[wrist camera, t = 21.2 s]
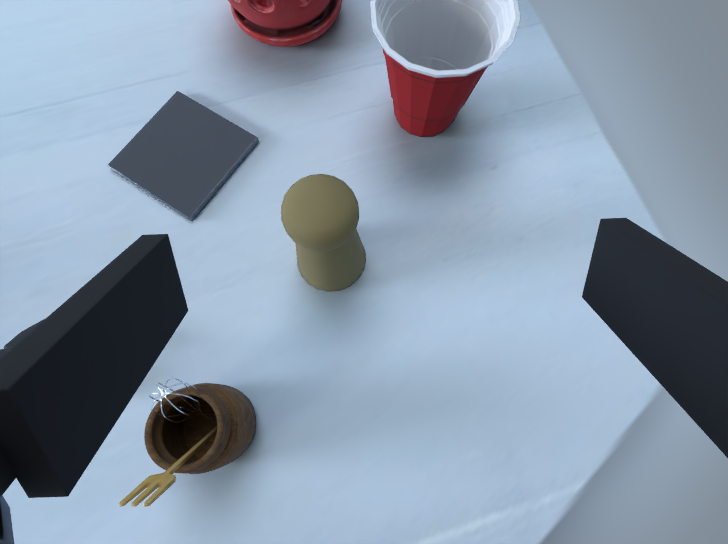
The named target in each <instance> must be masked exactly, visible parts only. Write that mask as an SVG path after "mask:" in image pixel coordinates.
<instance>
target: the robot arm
mask: <svg viewBox="0 0 728 544" xmlns="http://www.w3.org/2000/svg"><path fill="white" fill-rule="evenodd" d="M582 298H583V299H584V300H585V301H586V302H587V303H588V304H589V305H590V306H591V308H592V309H593V310H594V311H595V312H596V313H597V314H598V315H599V316H600V317H601V319H602V320H603V321H604V322H605V323H606V324H607V325H608V326H609V327H610V329H611V330H612V331H613V332H614V333H615V334H616V335H617V336H618V337H619V338H620V340H621V341H622V342H623V343H624V344H625V345H626V346H627V347H628V348H629V350H630V351H631V352H632V353H633V354H634V355H635V356H636V357H637V358H638V359H639V361H640V362H641V363H642V364H643V365H644V366H645V367H646V368H647V369H648V371H649V372H650V373H651V374H652V375H653V376H654V377H655V378H656V379H657V380H658V382H659V383H660V384H661V385H662V386H663V387H664V388H665V389H666V390H667V391H668V393H669V394H670V395H671V396H672V397H673V398H674V399H675V400H676V401H677V402H678V404H679V405H680V406H681V407H682V408H683V409H684V410H685V411H686V412H687V414H688V415H689V416H690V417H691V418H692V419H693V420H694V421H695V422H696V423H697V425H698V426H699V427H700V428H701V429H702V430H703V431H704V432H705V433H706V435H707V436H708V437H709V438H710V439H711V440H712V441H713V442H714V443H715V444H716V446H717V447H718V448H719V449H720V450H721V451H722V452H723V453H724V454H725V456H726V457H727V458H728V282H727V281H725V280H724V279H722V278H721V277H719V276H718V275H716V274H714V273H713V272H711V271H710V270H708V269H707V268H705V267H703V266H701V265H700V264H698V263H697V262H695V261H694V260H692V259H691V258H689V257H687V256H686V255H684V254H683V253H681V252H679V251H678V250H676V249H675V248H673V247H672V246H670V245H668V244H667V243H665V242H664V241H662V240H660V239H659V238H657V237H656V236H654V235H652V234H651V233H649V232H648V231H646V230H644V229H643V228H641V227H640V226H638V225H637V224H635V223H633V222H632V221H630V220H629V219H627V218H612V219H601V220H600V224H599V229H598V233H597V237H596V241H595V245H594V249H593V253H592V257H591V262H590V266H589V270H588V274H587V278H586V282H585V286H584V291H583V295H582ZM187 312H188V308H187V304H186V300H185V297H184V293H183V289H182V285H181V282H180V278H179V274H178V270H177V267H176V263H175V259H174V256H173V252H172V248H171V244H170V241H169V237H168V234H157V235H142V236H141V237H140V238H139V239H137V240H136V241H135V242H134V243H133V244H132V245H130V246H129V247H128V248H127V249H126V250H125V251H124V252H122V253H121V254H120V255H119V256H118V257H117V258H115V259H114V260H113V261H112V262H111V263H110V264H108V265H107V266H106V267H105V268H104V269H103V270H102V271H100V272H99V273H98V274H97V275H96V276H95V277H93V278H92V279H91V280H90V281H89V282H88V283H87V284H85V285H84V286H83V287H82V288H81V289H80V290H78V291H77V292H76V293H75V294H74V295H73V296H71V297H70V298H69V299H68V300H67V301H66V302H65V303H63V304H62V305H61V306H60V307H59V308H58V309H56V310H55V311H54V312H53V313H52V314H51V315H50V316H48V317H47V318H46V319H44V320H42V321H40V322H38V323H37V324H35V325H33V326H31V327H29V328H27V329H26V330H24V331H22V332H21V333H19V334H18V335H17V336H16V337H15V338H13V339H12V340H11V341H10V342H9V343H8V344H6V345H5V346H4V349H0V544H14V538H13V530H12V522H11V514H10V507H9V506H8V504H7V502H6V500H5V499H4V497H3V496H2V495H3V493H4V492H5V491H6V490H7V488H8V487H9V486H10V485H11V483H12V482H13V481H14V480H15V478H17V480H18V481H19V483H20V484H21V486H22V488H23V489H24V491H25V492H26V494H27V496H28V497H29V498H35V497H65V496H69V494H70V493H71V491H72V489H73V488H74V486H75V485H76V483H77V482H78V480H79V479H80V477H81V476H82V474H83V472H84V471H85V469H86V468H87V466H88V465H89V463H90V462H91V460H92V459H93V457H94V455H95V454H96V452H97V451H98V449H99V448H100V446H101V445H102V443H103V442H104V440H105V438H106V437H107V435H108V434H109V432H110V431H111V429H112V428H113V426H114V425H115V423H116V421H117V420H118V418H119V417H120V415H121V414H122V412H123V411H124V409H125V408H126V406H127V404H128V403H129V401H130V400H131V398H132V397H133V395H134V394H135V392H136V391H137V389H138V387H139V386H140V384H141V383H142V381H143V380H144V378H145V377H146V375H147V374H148V372H149V370H150V369H151V367H152V366H153V364H154V363H155V361H156V360H157V358H158V357H159V355H160V354H161V352H162V350H163V349H164V347H165V346H166V344H167V343H168V341H169V340H170V338H171V337H172V335H173V333H174V332H175V330H176V329H177V327H178V326H179V324H180V323H181V321H182V320H183V318H184V316H185V315H186V313H187Z"/></svg>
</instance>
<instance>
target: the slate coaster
mask: <svg viewBox="0 0 728 544" xmlns="http://www.w3.org/2000/svg"><path fill="white" fill-rule="evenodd" d="M258 142H259V140H258V138H257V137H255V136H254V135H252V134H250V133H249V132H247V131H245V130H243V129H242V128H240V127H238V126H237V125H235V124H233V123H232V122H230V121H228V120H226V119H225V118H223V117H221V116H220V115H218V114H216V113H214V112H213V111H211V110H209V109H208V108H206V107H204V106H203V105H201V104H199V103H197V102H196V101H194V100H192V99H191V98H189V97H187V96H185V95H184V94H182V93H180V92H179V91H177V92H176V93H175V94H174V95H173V96H172V97H171V98H170V99H169V100H168V102H167V103H166V104H165V105H164V106H163V107H162V108H161V109H160V110H159V111H158V112H157V113H156V114H155V115H154V116H153V117H152V119H151V120H150V121H149V122H148V123H147V124H146V125H145V126H144V127H143V128H142V129H141V130H140V131H139V132H138V133H137V134H136V136H135V137H134V138H133V139H132V140H131V141H130V142H129V143H128V144H127V145H126V146H125V147H124V148H123V149H122V150H121V151H120V153H119V154H118V155H117V156H116V157H115V158H114V159H113V160H112V161H111V162H110V163H109V164H108V166H109V167H110V168H111V169H113V170H114V171H116V172H117V173H119V174H120V175H122V176H123V177H125V178H127V179H128V180H130V181H131V182H133V183H134V184H136V185H137V186H139V187H140V188H142V189H143V190H145V191H147V192H148V193H150V194H151V195H153V196H154V197H156V198H157V199H159V200H160V201H162V202H164V203H165V204H167V205H168V206H170V207H171V208H173V209H174V210H176V211H177V212H179V213H181V214H182V215H184V216H185V217H187V218H188V219H190V220H191V221H193V220H194V218H195V217H196V216H197V215H198V214H199V212H200V211H201V210H202V209H203V208H204V206H205V205H206V204H207V203H208V202H209V200H210V199H211V198H212V197H213V196H214V194H215V193H216V192H217V191H218V190H219V188H220V187H221V186H222V185H223V184H224V182H225V181H226V180H227V179H228V178H229V177H230V175H231V174H232V173H233V172H234V171H235V169H236V168H237V167H238V166H239V165H240V163H241V162H242V161H243V160H244V159H245V157H246V156H247V155H248V154H249V153H250V151H251V150H252V149H253V148H254V147H255V145H256V144H257V143H258Z"/></svg>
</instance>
